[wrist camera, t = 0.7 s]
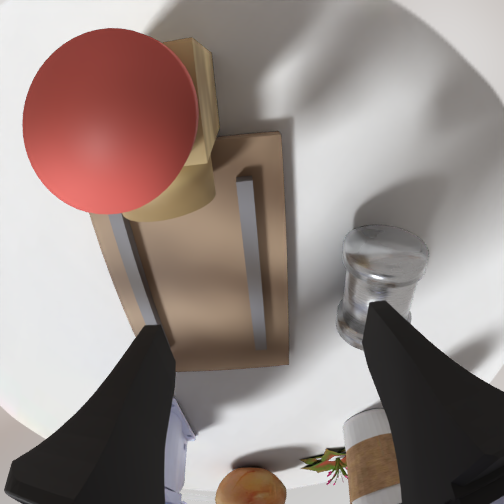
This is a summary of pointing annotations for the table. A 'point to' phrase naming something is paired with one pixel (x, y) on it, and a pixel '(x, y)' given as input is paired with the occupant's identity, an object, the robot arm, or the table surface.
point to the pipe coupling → (378, 275)
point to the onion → (251, 488)
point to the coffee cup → (371, 459)
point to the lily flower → (328, 463)
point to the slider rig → (168, 193)
